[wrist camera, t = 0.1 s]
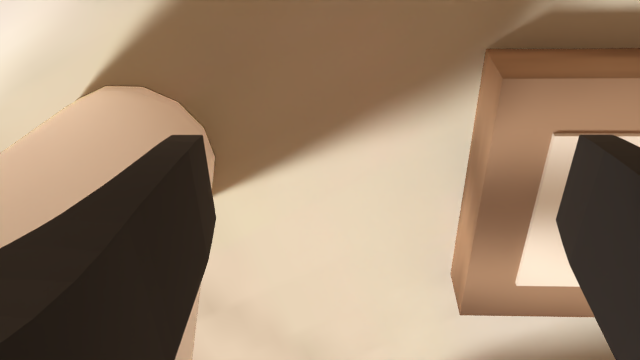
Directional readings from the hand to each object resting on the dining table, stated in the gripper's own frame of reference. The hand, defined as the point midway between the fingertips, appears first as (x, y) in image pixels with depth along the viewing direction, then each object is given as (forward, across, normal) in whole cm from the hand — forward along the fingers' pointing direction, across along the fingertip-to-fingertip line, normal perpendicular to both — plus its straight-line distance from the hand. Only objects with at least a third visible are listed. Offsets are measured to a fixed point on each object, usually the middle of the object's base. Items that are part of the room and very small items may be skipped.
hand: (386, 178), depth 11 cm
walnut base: (+11, -10, +7) cm, 16 cm away
